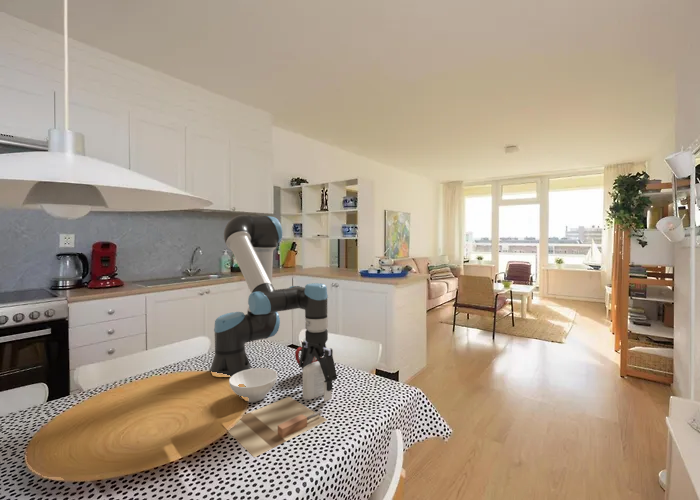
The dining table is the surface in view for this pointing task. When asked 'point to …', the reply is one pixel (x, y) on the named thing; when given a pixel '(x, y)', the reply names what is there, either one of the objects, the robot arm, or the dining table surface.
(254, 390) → the bowl
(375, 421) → the dining table surface
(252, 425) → the light wooden cutting board
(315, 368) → the photo printer
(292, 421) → the awl
